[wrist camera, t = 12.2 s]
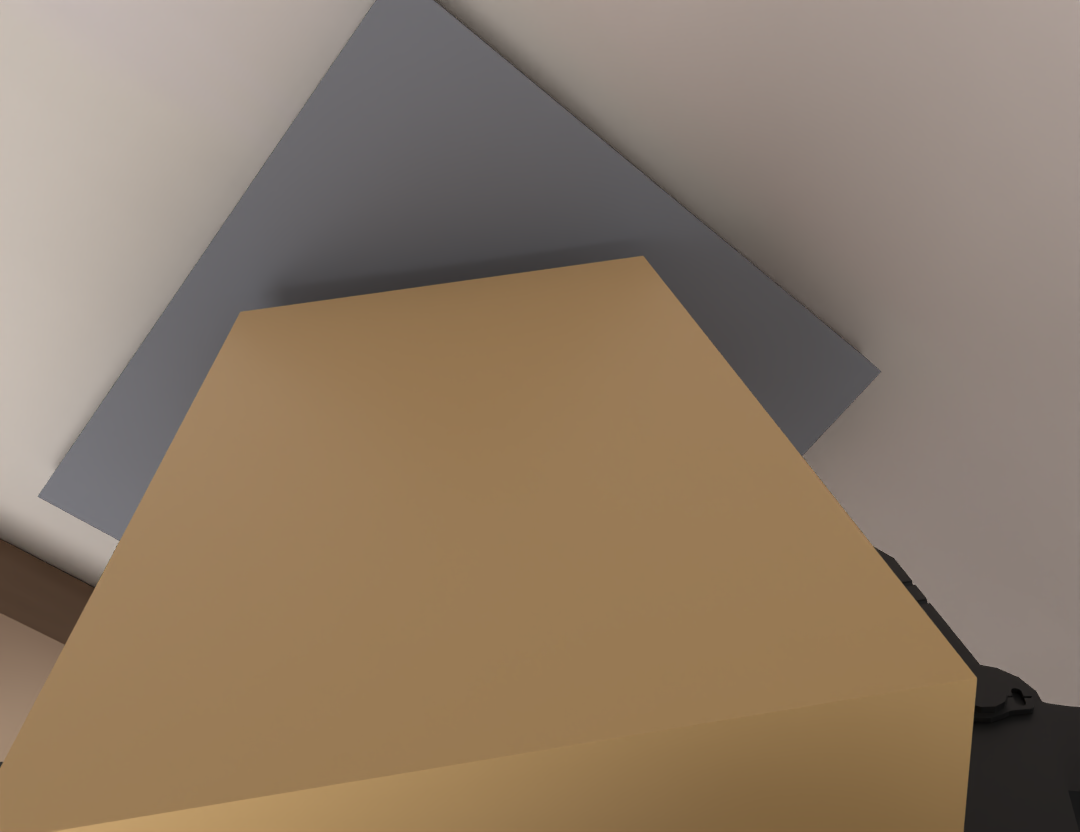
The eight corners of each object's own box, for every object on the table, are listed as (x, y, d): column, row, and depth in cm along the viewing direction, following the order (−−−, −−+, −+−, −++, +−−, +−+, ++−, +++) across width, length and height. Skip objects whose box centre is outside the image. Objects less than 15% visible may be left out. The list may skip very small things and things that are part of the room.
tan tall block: (322, 643, 20) (195, 1528, 9) (239, 311, 17) (-115, 986, 6) (666, 589, 20) (978, 1367, 9) (643, 255, 17) (1060, 783, 6)
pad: (516, 727, 24) (519, 756, 24) (54, 472, 20) (37, 496, 20) (861, 354, 21) (881, 371, 20) (397, -31, 17) (396, -30, 16)
